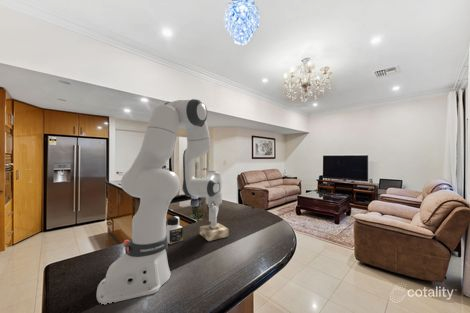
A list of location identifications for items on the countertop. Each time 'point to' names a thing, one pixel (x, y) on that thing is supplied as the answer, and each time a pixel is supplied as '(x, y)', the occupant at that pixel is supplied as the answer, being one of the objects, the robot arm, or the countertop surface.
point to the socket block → (214, 232)
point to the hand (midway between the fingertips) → (213, 224)
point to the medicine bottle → (174, 230)
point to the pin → (215, 225)
